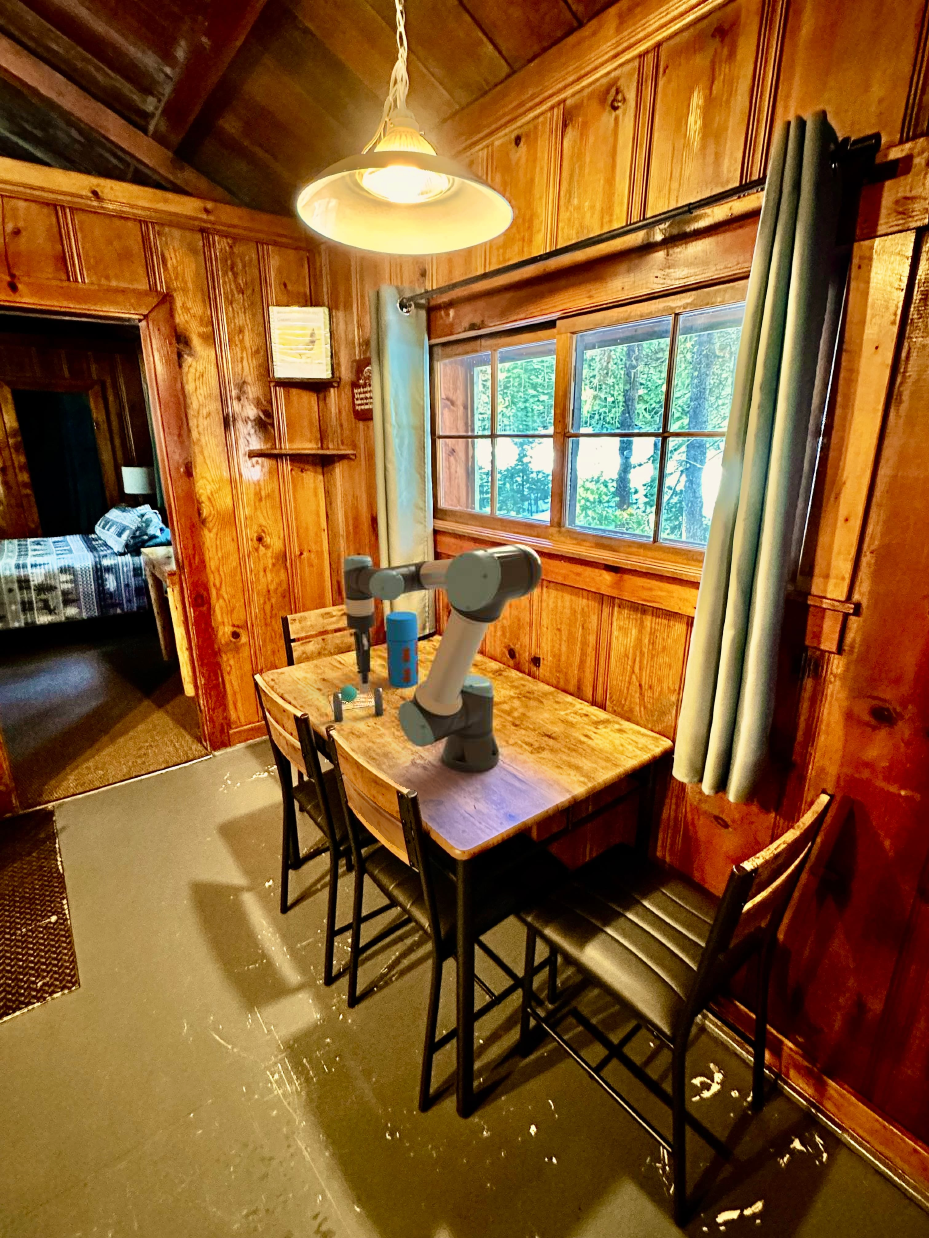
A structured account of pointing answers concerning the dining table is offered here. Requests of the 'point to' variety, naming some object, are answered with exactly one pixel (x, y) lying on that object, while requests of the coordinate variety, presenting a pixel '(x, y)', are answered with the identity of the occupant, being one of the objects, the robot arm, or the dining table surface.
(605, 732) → the dining table surface
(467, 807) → the dining table surface
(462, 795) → the dining table surface
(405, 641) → the thermos
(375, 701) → the post right
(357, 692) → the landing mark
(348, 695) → the ball
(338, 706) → the post left
